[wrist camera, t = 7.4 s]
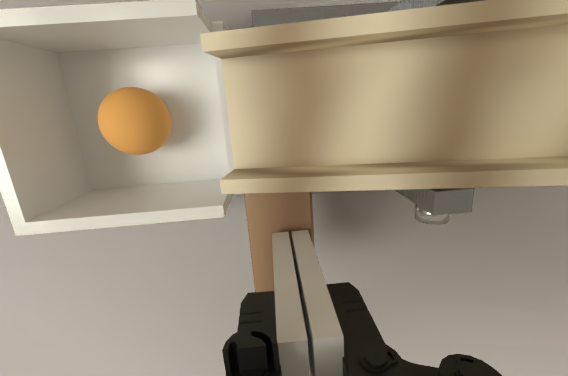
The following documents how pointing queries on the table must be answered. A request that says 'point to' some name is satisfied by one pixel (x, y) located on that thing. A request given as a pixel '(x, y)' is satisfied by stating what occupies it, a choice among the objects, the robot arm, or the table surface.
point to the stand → (429, 202)
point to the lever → (392, 107)
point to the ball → (134, 120)
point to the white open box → (84, 110)
